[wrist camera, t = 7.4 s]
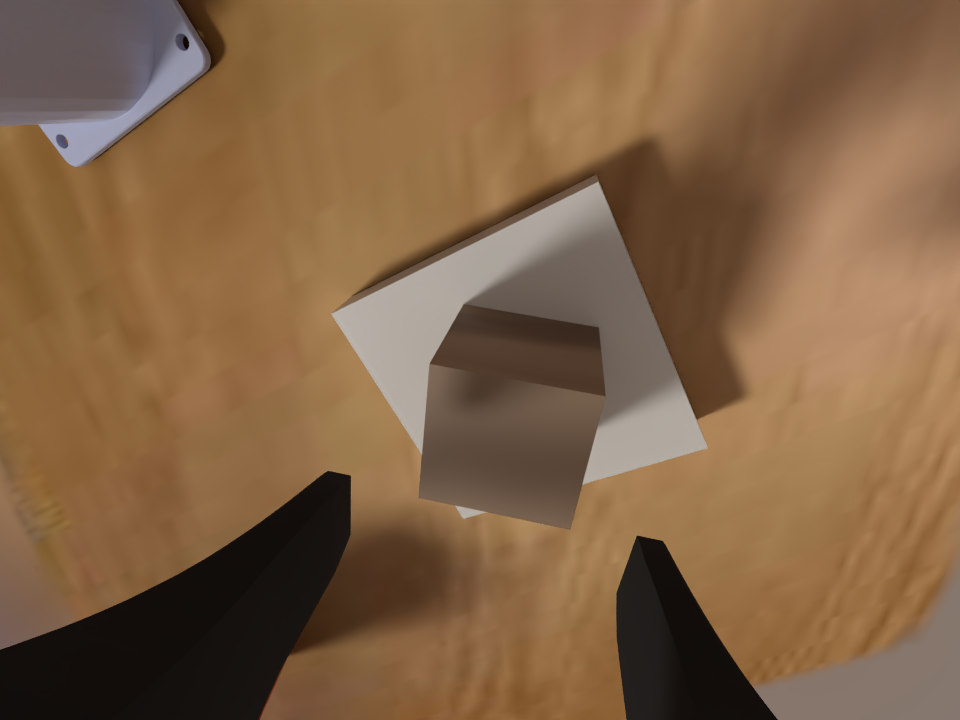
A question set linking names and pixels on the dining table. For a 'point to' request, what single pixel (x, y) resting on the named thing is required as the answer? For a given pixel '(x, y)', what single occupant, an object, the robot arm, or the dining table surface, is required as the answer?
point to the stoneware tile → (542, 293)
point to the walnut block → (512, 415)
